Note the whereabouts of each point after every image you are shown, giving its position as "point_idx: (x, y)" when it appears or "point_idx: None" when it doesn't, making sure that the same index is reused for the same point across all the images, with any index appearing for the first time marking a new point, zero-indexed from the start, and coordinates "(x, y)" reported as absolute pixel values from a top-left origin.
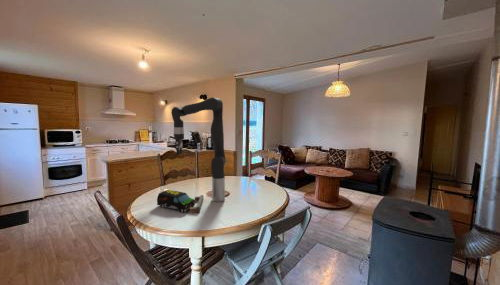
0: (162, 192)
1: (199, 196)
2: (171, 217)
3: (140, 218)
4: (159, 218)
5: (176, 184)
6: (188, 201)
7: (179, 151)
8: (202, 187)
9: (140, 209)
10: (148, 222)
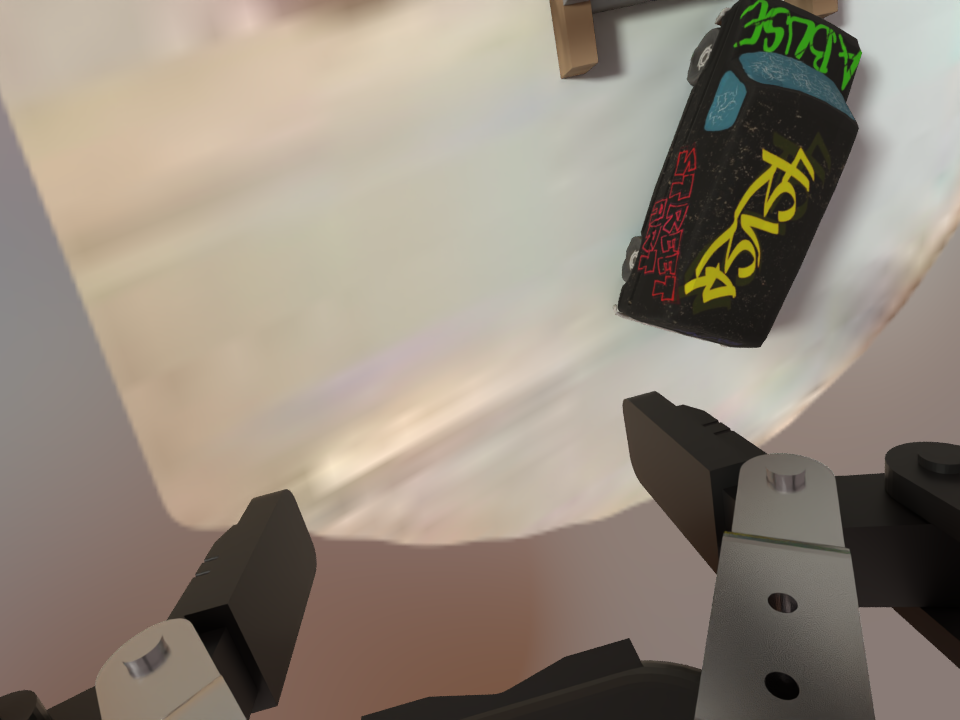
0: (745, 324)
1: (566, 19)
2: (863, 143)
3: (859, 334)
4: (869, 218)
5: (168, 455)
6: (813, 33)
7: (709, 433)
8: (173, 136)
9: (739, 413)
10: (912, 257)
